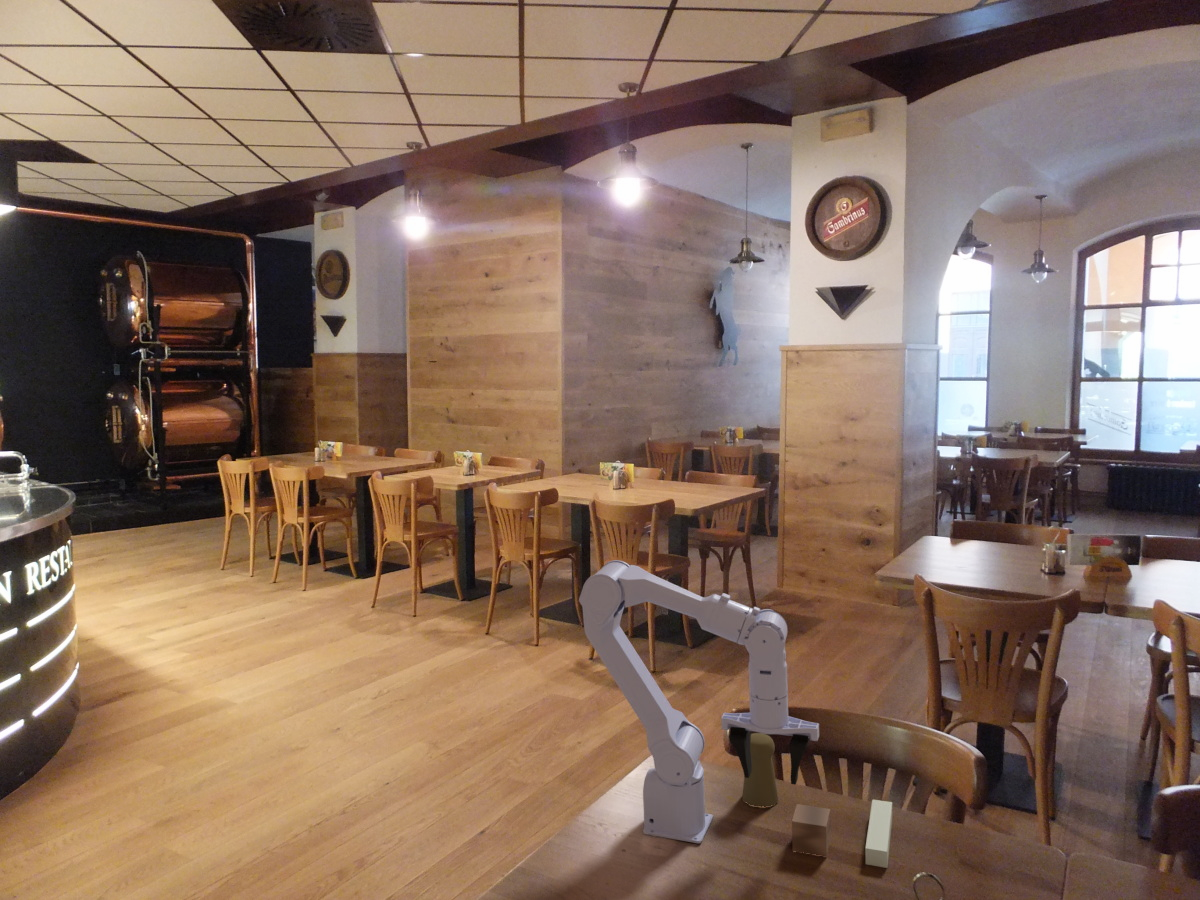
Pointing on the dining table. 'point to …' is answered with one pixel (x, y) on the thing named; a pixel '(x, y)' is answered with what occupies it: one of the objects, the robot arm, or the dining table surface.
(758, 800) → the cork
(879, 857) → the cream rectangular bar
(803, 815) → the walnut block
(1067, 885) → the dining table surface
